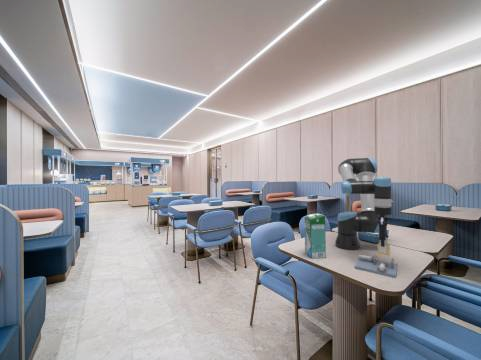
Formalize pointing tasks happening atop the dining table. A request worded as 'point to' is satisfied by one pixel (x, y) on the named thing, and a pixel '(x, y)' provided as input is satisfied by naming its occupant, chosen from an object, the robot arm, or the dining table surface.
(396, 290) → the dining table surface
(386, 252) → the block
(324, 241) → the milk carton
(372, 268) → the shaft bench
